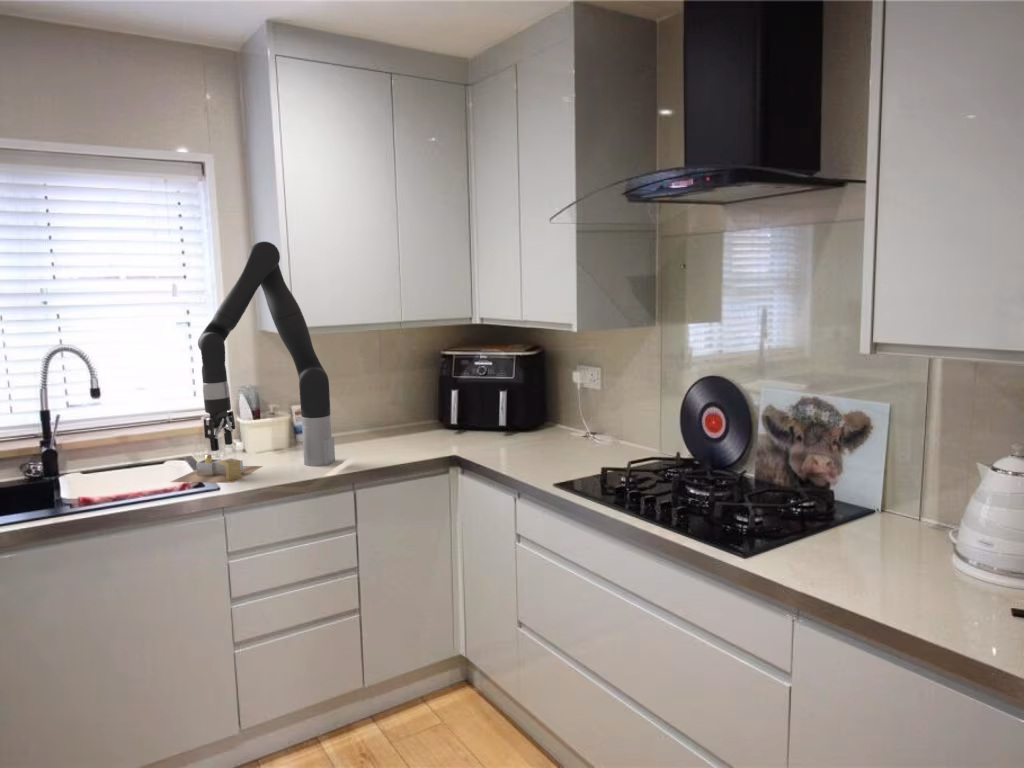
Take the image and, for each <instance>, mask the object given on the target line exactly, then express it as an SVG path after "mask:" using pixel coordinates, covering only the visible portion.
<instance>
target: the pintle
mask: <svg viewBox="0 0 1024 768" xmlns="http://www.w3.org/2000/svg"><path fill="white" fill-rule="evenodd" d="M212 459H213V458H212V454H210V453H209V454H205V455H204V460H205V463H212Z"/></svg>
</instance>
